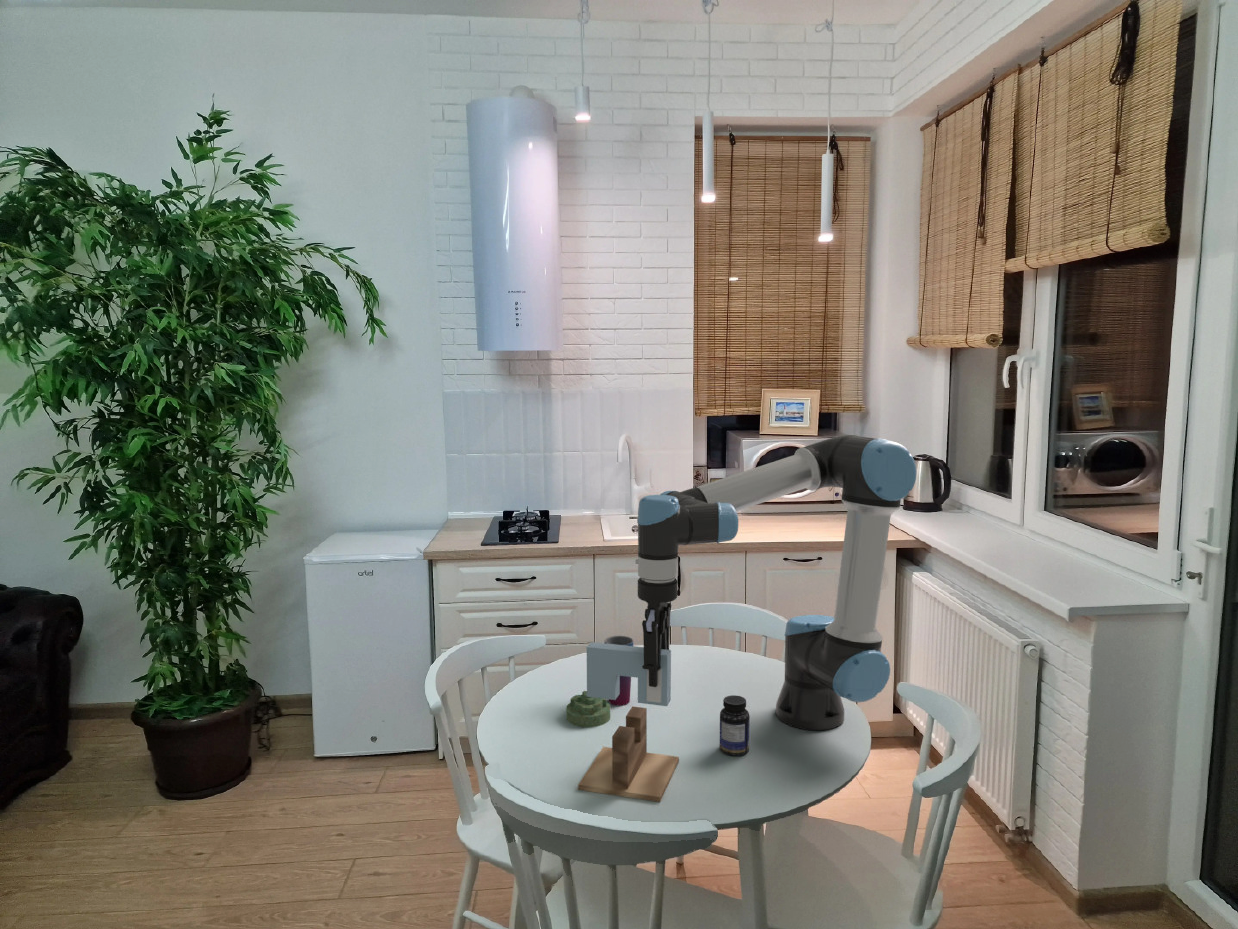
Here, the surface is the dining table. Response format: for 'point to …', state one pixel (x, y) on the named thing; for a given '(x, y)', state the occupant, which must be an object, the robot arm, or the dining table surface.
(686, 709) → the dining table surface
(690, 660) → the dining table surface
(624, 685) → the cup
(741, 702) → the pill bottle
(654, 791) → the jig
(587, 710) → the decorative artifact
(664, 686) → the slotted plate
